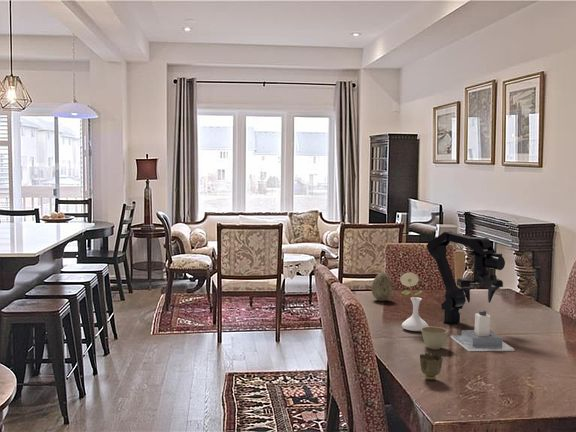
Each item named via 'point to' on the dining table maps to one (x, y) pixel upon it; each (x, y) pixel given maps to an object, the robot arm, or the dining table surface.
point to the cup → (431, 365)
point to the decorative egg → (382, 287)
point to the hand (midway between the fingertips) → (479, 302)
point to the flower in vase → (414, 321)
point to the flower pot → (434, 337)
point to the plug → (482, 324)
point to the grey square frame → (481, 342)
